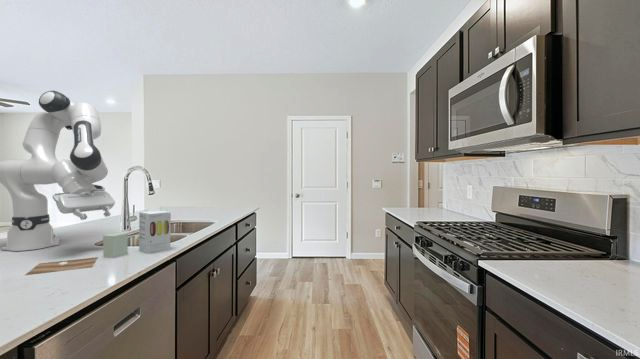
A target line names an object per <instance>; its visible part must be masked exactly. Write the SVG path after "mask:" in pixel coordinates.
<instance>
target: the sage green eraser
mask: <svg viewBox="0 0 640 359" xmlns="http://www.w3.org/2000/svg"><path fill="white" fill-rule="evenodd" d="M102 238H103V240H102V241H103V243H102V245H103V246H102V247H103V248H102V249H103V251H102V252H103V254H102V255H103V256H102V257H103V258H111V259H115V258H118V257H123V256H124V255H125V256H126V255H128V253H129V252H128V251H129V249H128V245H129V244H128V243H129V242H128V233H126V232H115V233H110V234H109V233H108V234H105V235H104V234H103V235H102Z"/></svg>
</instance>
